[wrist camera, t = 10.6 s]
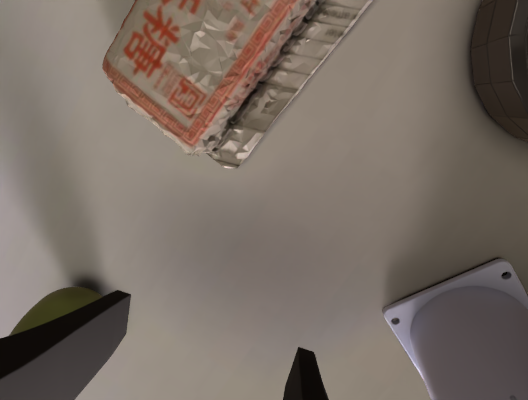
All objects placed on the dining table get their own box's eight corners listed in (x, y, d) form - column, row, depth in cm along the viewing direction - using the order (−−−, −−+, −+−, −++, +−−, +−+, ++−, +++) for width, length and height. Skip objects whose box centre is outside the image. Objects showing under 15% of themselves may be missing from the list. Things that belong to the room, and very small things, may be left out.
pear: (62, 323, 27) (-76, 442, 18) (60, 267, 25) (-93, 365, 16) (125, 340, 27) (18, 473, 17) (128, 283, 25) (11, 395, 15)
